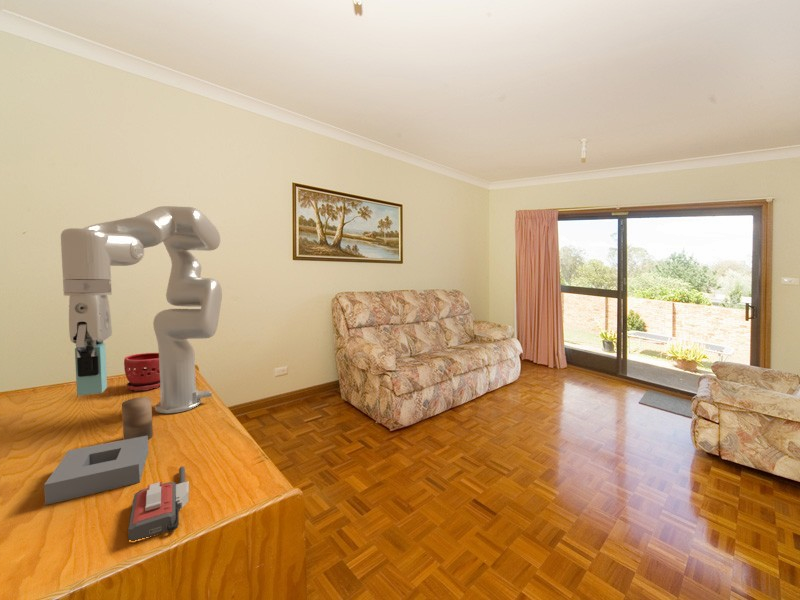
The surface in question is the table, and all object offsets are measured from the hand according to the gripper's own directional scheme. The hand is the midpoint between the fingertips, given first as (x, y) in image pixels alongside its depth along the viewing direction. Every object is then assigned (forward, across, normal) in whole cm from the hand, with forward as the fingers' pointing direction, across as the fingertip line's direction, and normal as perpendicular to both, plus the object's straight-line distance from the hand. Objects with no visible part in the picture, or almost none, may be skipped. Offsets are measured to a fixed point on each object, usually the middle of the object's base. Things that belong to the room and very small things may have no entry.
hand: (92, 371), depth 73 cm
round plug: (+22, +13, -6) cm, 26 cm away
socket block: (+22, -3, -2) cm, 22 cm away
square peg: (+4, 0, 0) cm, 4 cm away
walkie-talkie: (+23, -20, -14) cm, 33 cm away
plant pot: (+21, +60, -1) cm, 63 cm away
